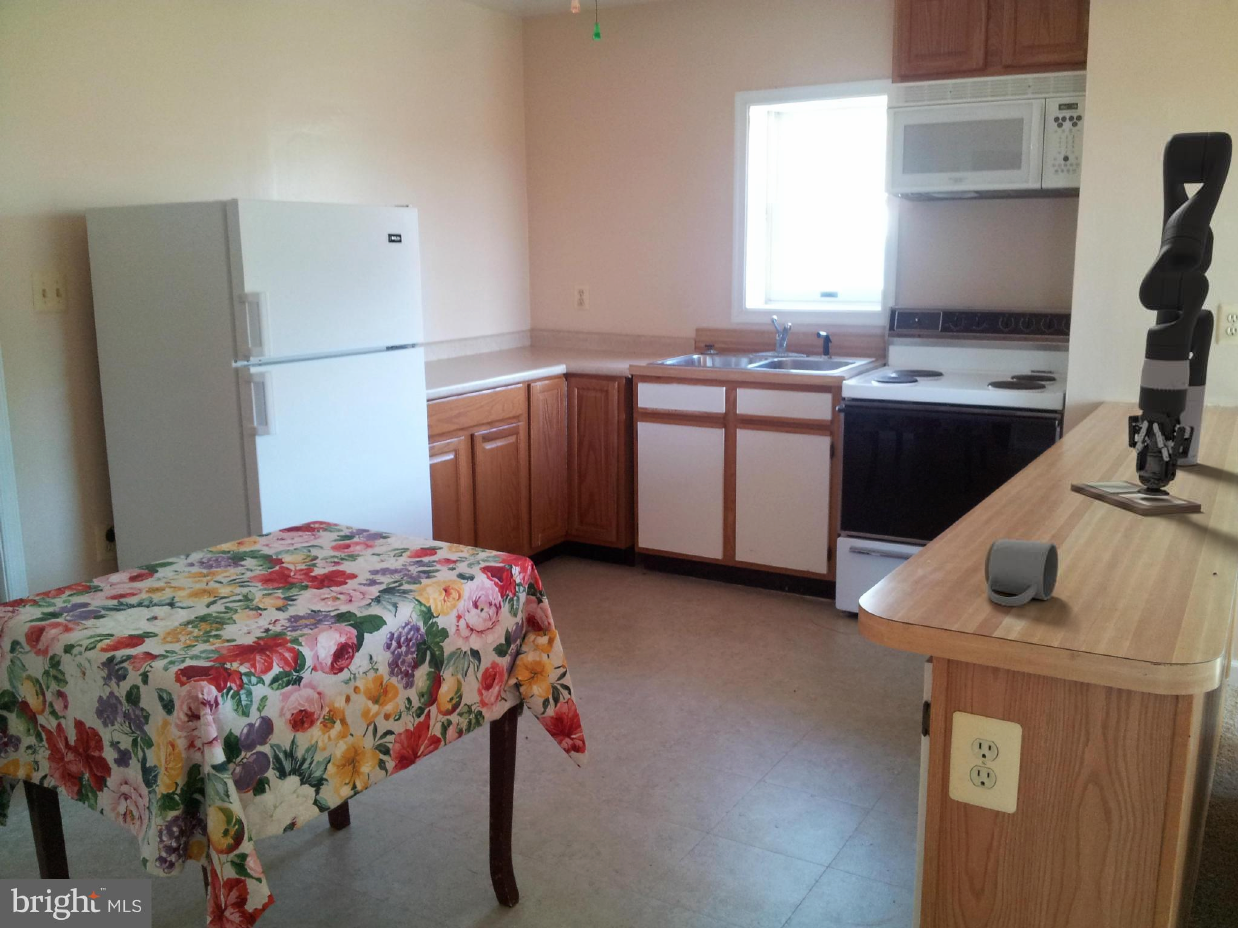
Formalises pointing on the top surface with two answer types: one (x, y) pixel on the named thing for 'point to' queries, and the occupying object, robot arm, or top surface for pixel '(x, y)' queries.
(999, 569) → the ceramic mug
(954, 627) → the top surface
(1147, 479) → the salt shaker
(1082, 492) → the board
